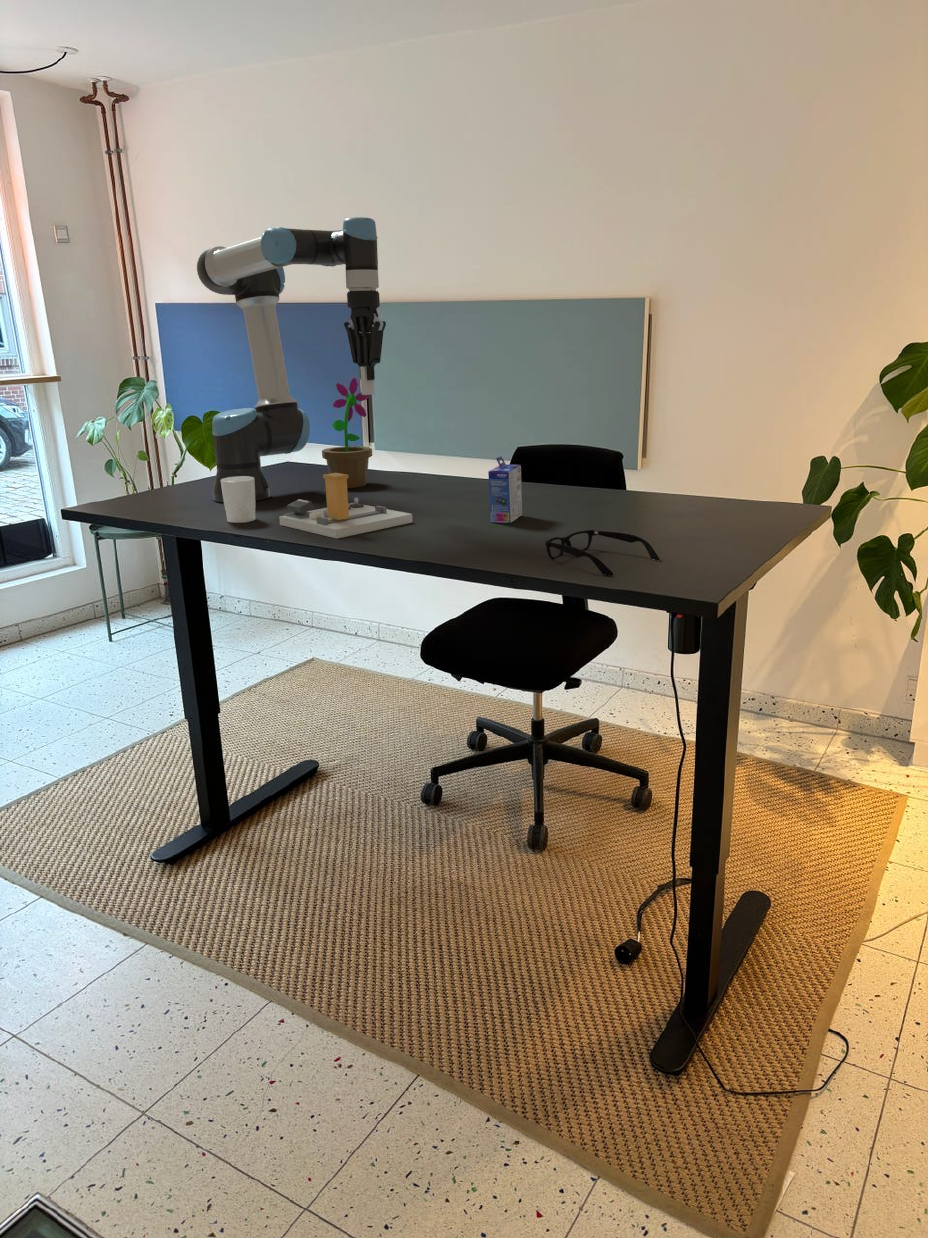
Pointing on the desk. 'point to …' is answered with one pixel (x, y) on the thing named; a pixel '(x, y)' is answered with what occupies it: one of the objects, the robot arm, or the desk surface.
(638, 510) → the desk surface
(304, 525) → the console
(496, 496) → the ink cartridge box
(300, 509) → the rocker
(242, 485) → the white cup
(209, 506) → the desk surface
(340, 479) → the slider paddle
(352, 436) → the flowerpot
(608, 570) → the glasses
